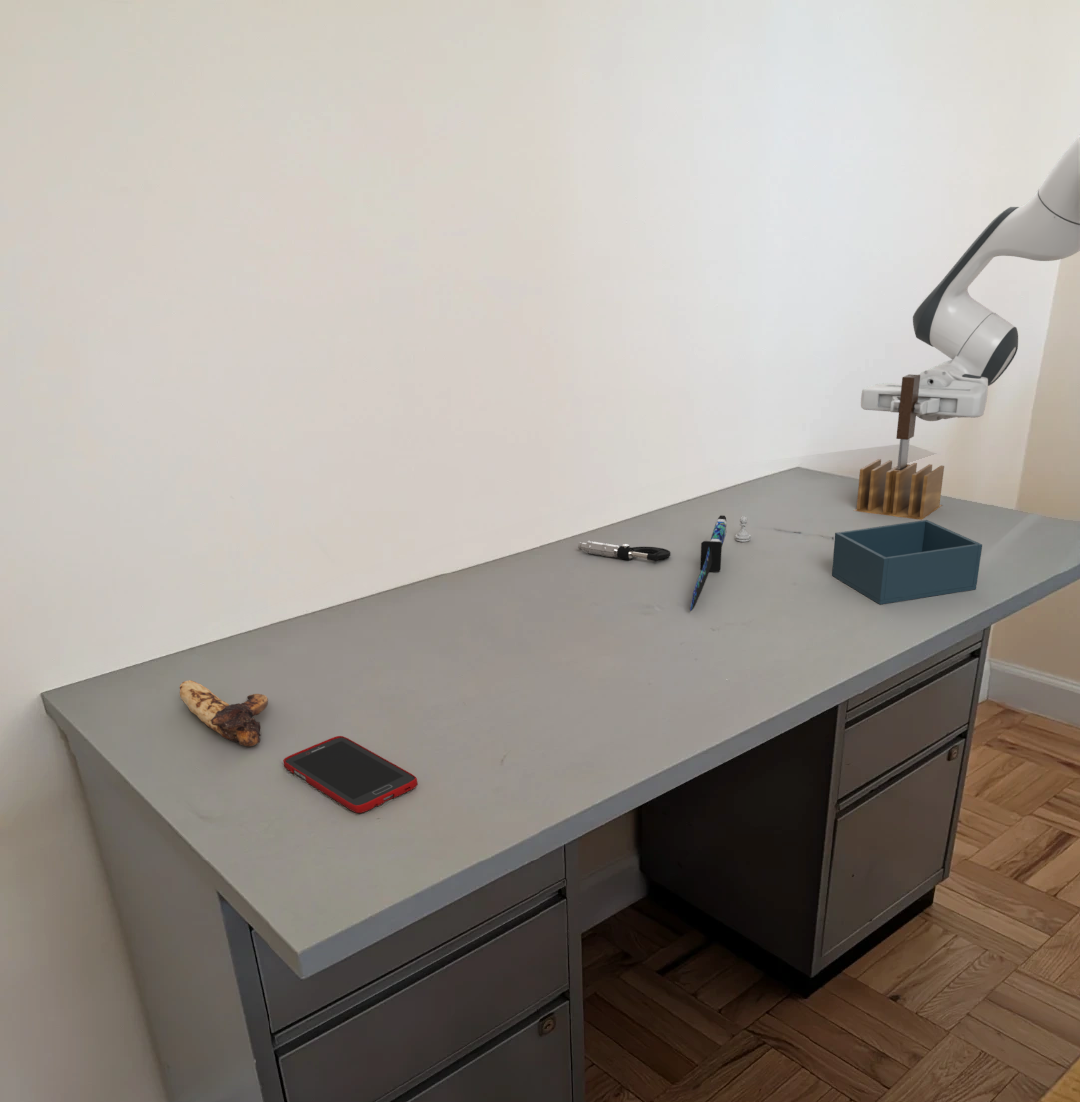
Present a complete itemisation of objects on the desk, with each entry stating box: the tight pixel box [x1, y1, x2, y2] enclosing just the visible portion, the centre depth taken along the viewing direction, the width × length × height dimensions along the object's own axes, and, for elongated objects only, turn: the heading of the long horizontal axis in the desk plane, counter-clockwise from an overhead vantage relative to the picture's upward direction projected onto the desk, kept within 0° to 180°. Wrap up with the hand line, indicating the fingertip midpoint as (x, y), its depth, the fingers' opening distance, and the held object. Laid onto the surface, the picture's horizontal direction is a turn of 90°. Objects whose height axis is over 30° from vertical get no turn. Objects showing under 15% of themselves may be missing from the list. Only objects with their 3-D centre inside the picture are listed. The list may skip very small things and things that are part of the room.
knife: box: [689, 514, 728, 612], centre depth 156 cm, size 31×3×4 cm, turn 159°
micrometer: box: [577, 540, 671, 562], centre depth 169 cm, size 15×7×2 cm, turn 55°
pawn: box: [734, 515, 752, 543], centre depth 172 cm, size 3×3×4 cm
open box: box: [831, 519, 983, 605], centre depth 149 cm, size 15×13×7 cm
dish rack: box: [852, 458, 945, 521], centre depth 179 cm, size 12×10×8 cm
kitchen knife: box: [895, 373, 920, 470], centre depth 175 cm, size 2×3×22 cm, turn 142°
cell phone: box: [282, 735, 418, 814], centre depth 108 cm, size 8×15×1 cm, turn 43°
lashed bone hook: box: [179, 679, 269, 747], centre depth 121 cm, size 9×5×18 cm
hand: (906, 408), depth 172 cm, fingers open, 3 cm apart
